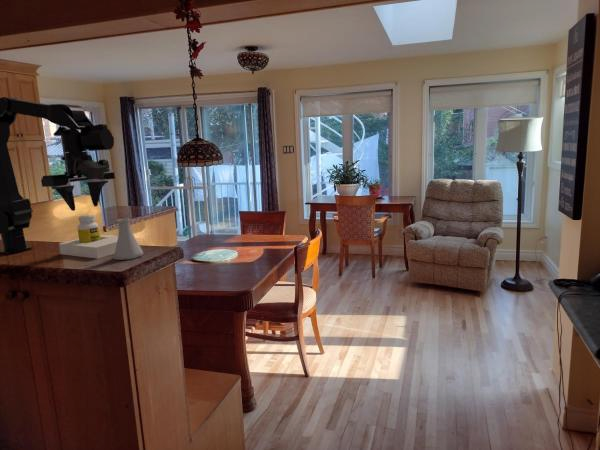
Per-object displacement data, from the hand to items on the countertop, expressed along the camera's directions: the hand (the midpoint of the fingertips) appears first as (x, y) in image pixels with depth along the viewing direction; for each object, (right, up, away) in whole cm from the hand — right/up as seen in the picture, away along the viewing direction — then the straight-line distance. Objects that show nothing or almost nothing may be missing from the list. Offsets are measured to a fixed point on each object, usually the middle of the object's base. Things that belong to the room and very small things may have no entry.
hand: (84, 208), depth 124 cm
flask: (+15, -13, -8) cm, 22 cm away
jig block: (+3, -12, +1) cm, 12 cm away
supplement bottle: (+1, -12, +2) cm, 12 cm away
